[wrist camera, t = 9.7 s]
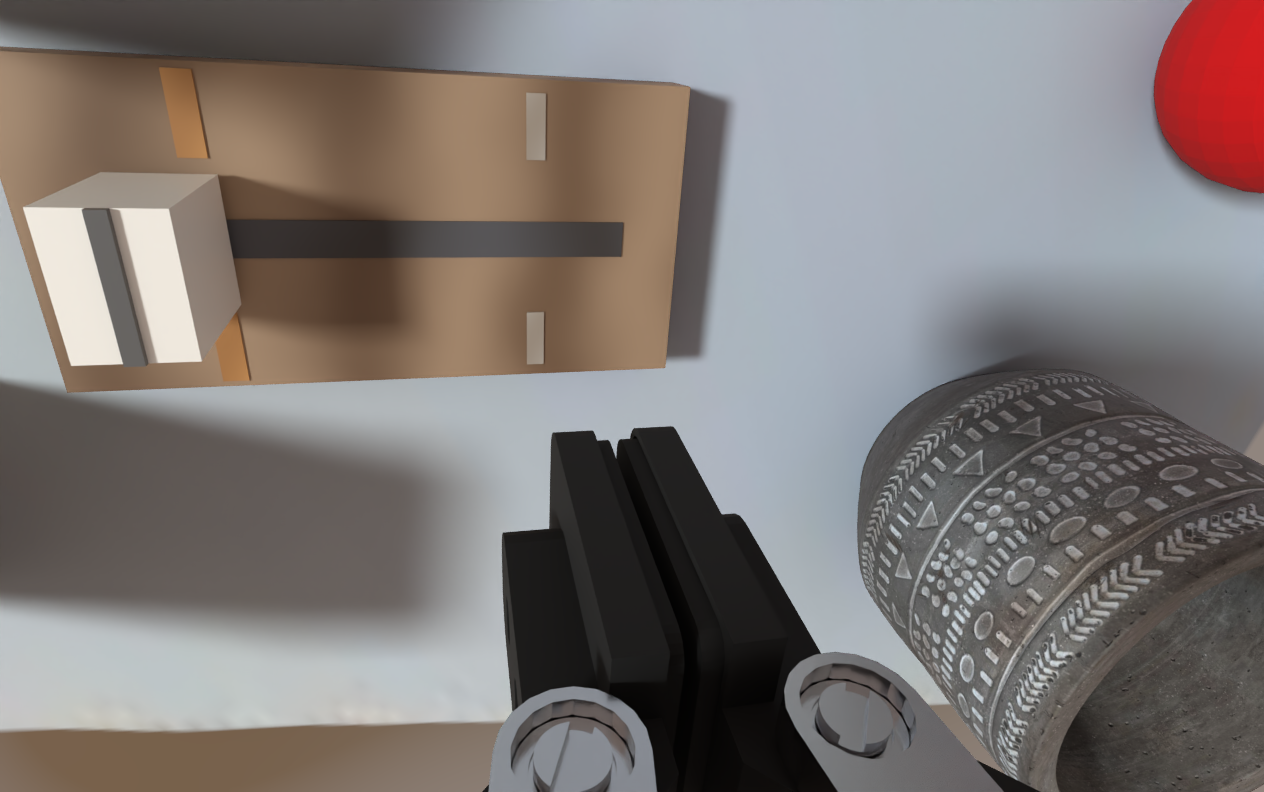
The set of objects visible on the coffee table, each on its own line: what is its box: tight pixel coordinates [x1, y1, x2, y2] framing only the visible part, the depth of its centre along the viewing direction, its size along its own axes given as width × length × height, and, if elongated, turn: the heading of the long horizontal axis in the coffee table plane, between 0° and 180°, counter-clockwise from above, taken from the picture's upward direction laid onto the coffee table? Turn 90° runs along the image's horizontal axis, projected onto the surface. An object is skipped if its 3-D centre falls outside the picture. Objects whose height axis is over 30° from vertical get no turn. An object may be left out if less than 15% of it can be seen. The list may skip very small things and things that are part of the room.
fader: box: [23, 172, 241, 367], centre depth 20 cm, size 3×4×5 cm
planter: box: [857, 369, 1264, 792], centre depth 30 cm, size 14×14×15 cm
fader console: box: [0, 47, 690, 393], centre depth 24 cm, size 20×10×2 cm, turn 87°
